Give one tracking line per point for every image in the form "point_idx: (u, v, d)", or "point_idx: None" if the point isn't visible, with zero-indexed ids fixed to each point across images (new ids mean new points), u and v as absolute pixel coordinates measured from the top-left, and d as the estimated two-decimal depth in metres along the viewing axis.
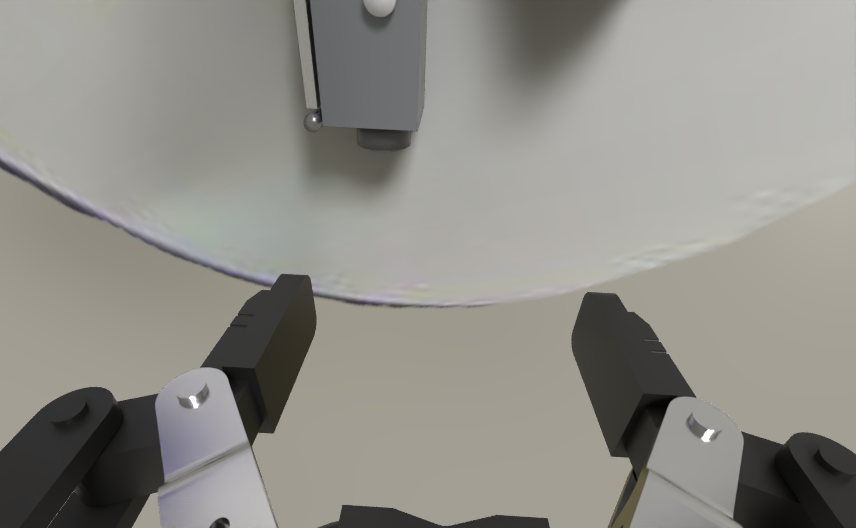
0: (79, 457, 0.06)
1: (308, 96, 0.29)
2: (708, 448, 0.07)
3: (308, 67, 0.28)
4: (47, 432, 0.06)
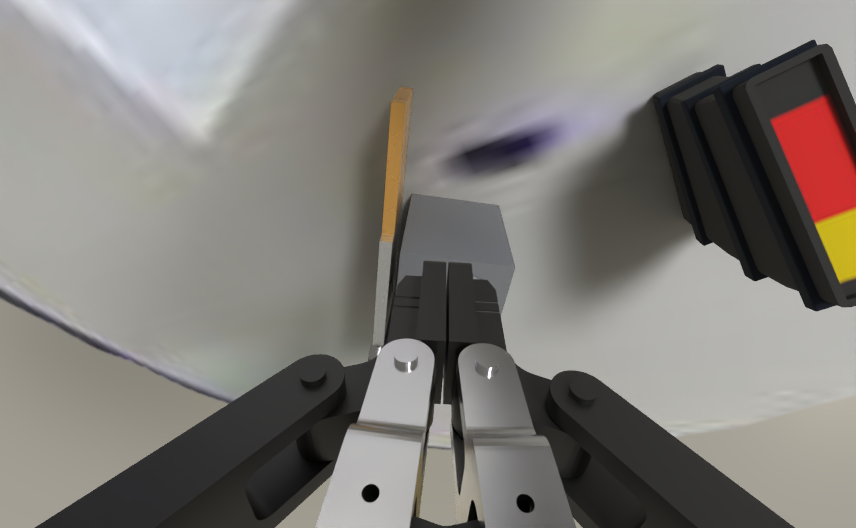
0: (300, 421, 0.07)
1: (376, 337, 0.29)
2: (478, 381, 0.08)
3: (381, 317, 0.28)
4: (294, 383, 0.08)
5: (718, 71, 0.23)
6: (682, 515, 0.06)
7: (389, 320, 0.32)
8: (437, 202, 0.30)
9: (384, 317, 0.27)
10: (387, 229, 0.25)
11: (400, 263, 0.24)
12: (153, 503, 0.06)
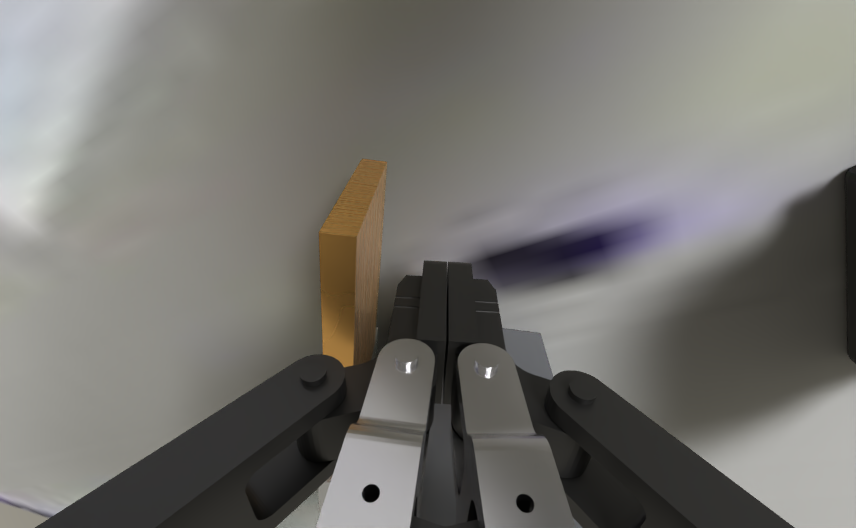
0: (300, 421, 0.07)
1: None
2: (477, 381, 0.08)
3: None
4: (294, 383, 0.08)
5: None
6: (682, 515, 0.06)
7: None
8: None
9: None
10: None
11: None
12: (153, 503, 0.06)
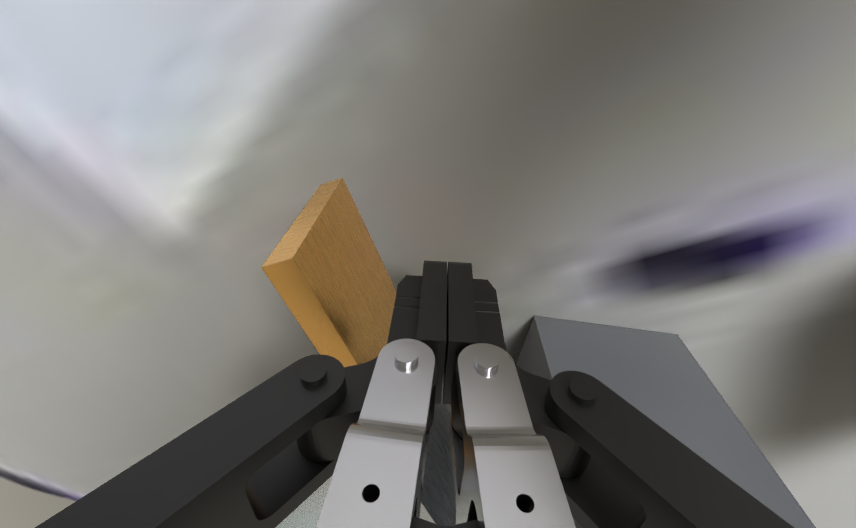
0: (300, 422, 0.07)
1: None
2: (477, 381, 0.08)
3: None
4: (294, 383, 0.08)
5: None
6: (681, 514, 0.06)
7: None
8: (583, 337, 0.17)
9: None
10: None
11: None
12: (153, 503, 0.06)
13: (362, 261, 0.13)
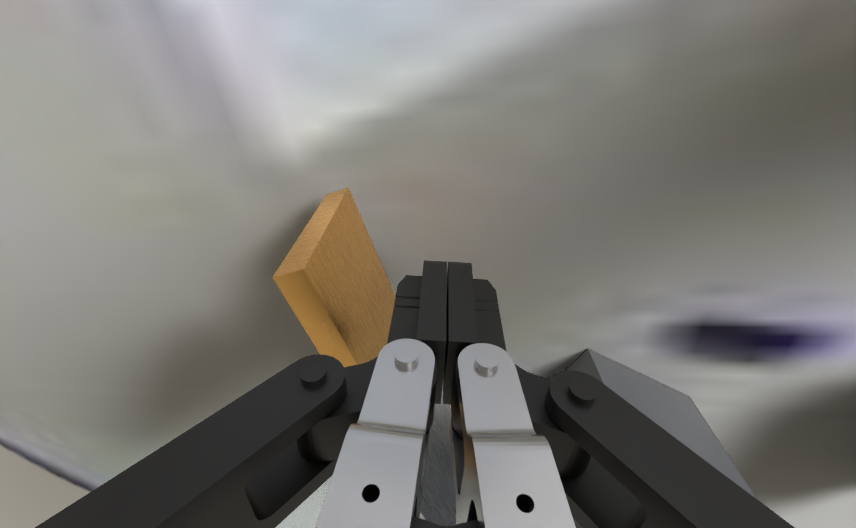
0: (300, 422, 0.07)
1: None
2: (478, 381, 0.08)
3: None
4: (294, 383, 0.08)
5: None
6: (681, 515, 0.06)
7: None
8: (628, 380, 0.19)
9: None
10: None
11: None
12: (153, 503, 0.06)
13: (366, 271, 0.13)
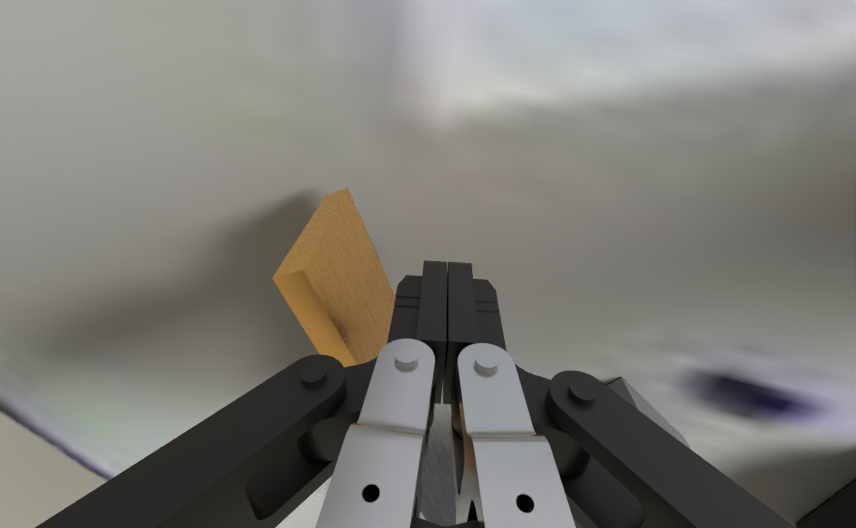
0: (300, 422, 0.07)
1: None
2: (478, 381, 0.08)
3: None
4: (295, 383, 0.08)
5: None
6: (682, 515, 0.06)
7: None
8: (650, 413, 0.20)
9: None
10: None
11: None
12: (153, 503, 0.06)
13: (366, 271, 0.13)
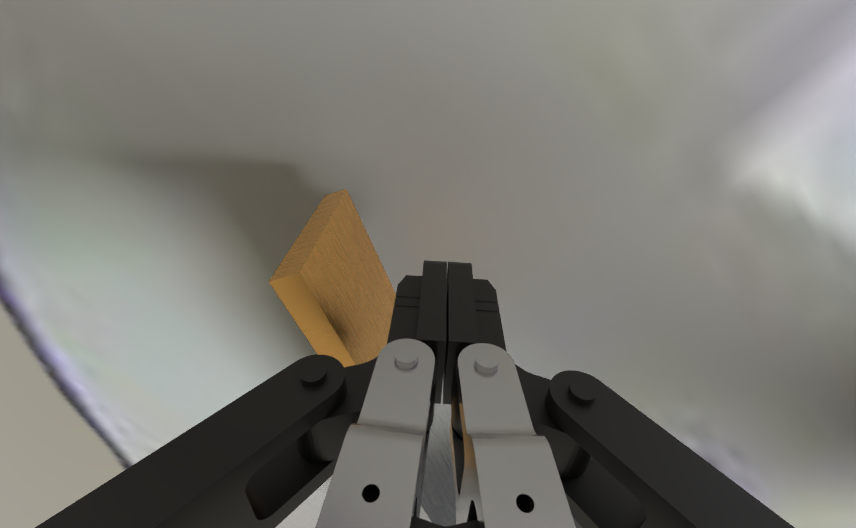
0: (300, 422, 0.07)
1: None
2: (478, 381, 0.08)
3: None
4: (295, 383, 0.08)
5: None
6: (681, 515, 0.06)
7: None
8: None
9: None
10: None
11: None
12: (153, 503, 0.06)
13: (366, 272, 0.13)
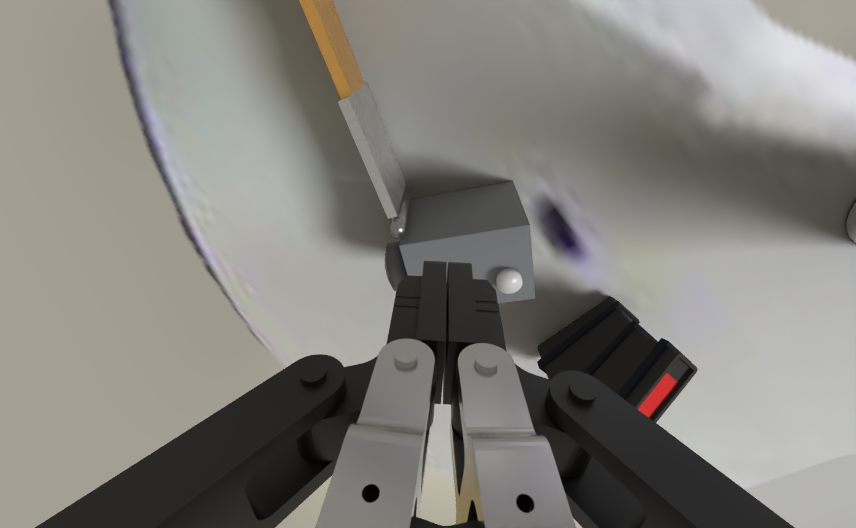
0: (300, 422, 0.07)
1: (387, 208, 0.30)
2: (478, 381, 0.08)
3: (380, 184, 0.29)
4: (294, 383, 0.08)
5: (636, 322, 0.42)
6: (681, 515, 0.06)
7: (405, 203, 0.33)
8: None
9: (382, 182, 0.29)
10: (343, 92, 0.26)
11: (518, 227, 0.29)
12: (153, 503, 0.06)
13: (326, 0, 0.26)
